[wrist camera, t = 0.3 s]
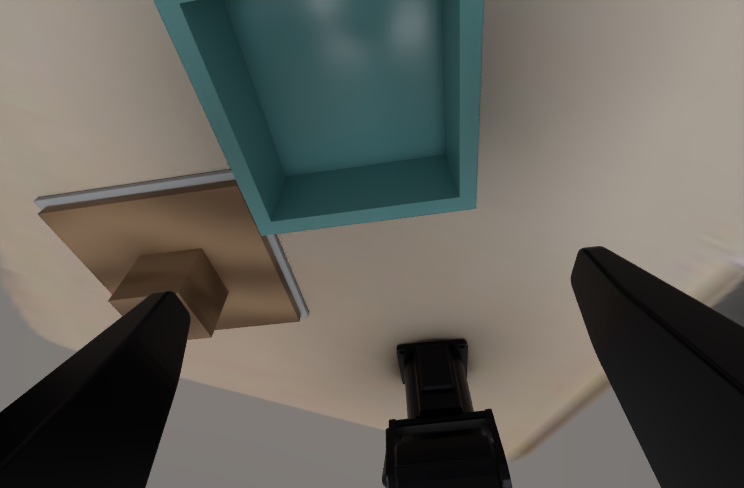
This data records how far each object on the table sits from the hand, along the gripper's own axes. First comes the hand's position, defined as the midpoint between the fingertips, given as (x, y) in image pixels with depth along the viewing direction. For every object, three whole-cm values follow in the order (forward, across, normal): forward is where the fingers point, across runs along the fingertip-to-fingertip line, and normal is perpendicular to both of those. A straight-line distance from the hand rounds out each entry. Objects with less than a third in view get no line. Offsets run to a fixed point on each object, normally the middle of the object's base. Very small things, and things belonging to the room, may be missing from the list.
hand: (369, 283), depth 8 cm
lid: (+14, +15, +11) cm, 23 cm away
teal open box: (+14, +1, 0) cm, 14 cm away
